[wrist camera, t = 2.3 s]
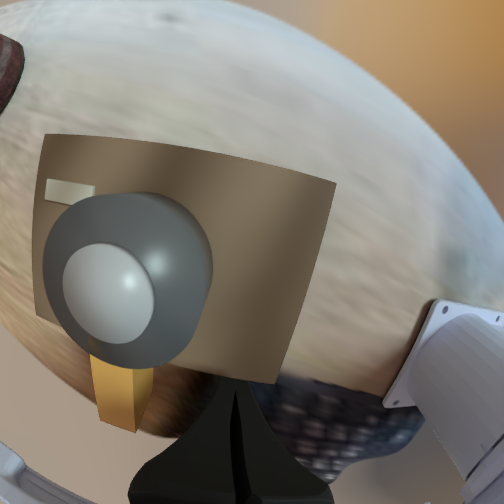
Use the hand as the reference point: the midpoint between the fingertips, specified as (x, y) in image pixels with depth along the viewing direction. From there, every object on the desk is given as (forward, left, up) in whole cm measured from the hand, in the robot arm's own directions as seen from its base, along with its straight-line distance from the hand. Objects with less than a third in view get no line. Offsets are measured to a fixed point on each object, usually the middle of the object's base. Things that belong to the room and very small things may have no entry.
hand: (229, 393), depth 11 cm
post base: (+5, -5, -2) cm, 7 cm away
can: (+20, -14, -2) cm, 24 cm away
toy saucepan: (+5, -3, -1) cm, 6 cm away
